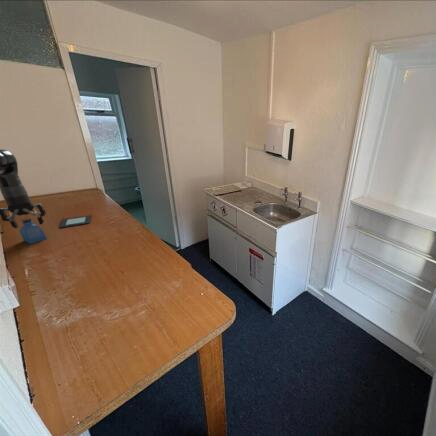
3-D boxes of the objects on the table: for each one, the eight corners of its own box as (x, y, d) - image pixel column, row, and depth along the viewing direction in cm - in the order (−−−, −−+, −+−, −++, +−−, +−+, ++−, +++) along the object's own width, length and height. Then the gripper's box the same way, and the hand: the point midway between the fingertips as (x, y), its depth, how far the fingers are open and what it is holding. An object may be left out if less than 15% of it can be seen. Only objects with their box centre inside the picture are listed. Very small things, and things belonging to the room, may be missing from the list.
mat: (59, 228, 131) (59, 227, 131) (63, 220, 141) (62, 219, 140) (89, 223, 138) (89, 222, 138) (90, 216, 148) (90, 215, 147)
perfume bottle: (41, 236, 122) (32, 216, 117) (47, 239, 119) (38, 218, 114) (24, 241, 116) (14, 220, 112) (30, 245, 114) (20, 223, 109)
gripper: (-12, 199, 101) (5, 232, 108) (34, 194, 109) (47, 225, 115) (-5, 194, 107) (10, 226, 113) (38, 190, 114) (50, 220, 121)
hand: (29, 225), depth 114 cm, fingers open, 8 cm apart
